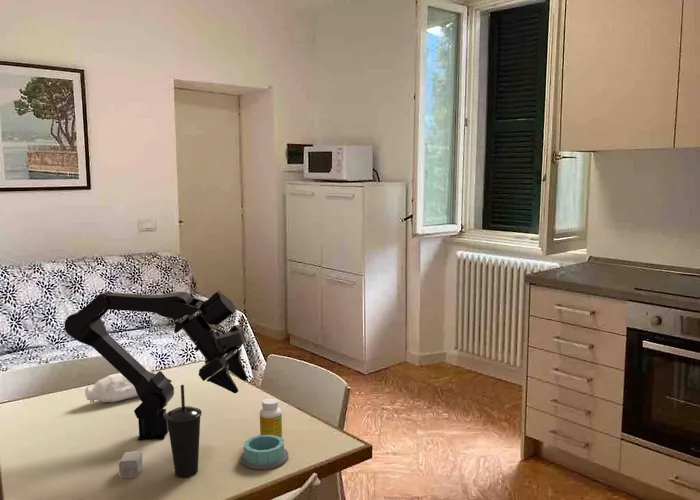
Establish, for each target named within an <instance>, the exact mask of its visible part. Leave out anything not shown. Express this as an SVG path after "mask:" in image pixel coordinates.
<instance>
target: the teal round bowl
mask: <svg viewBox="0 0 700 500" xmlns="http://www.w3.org/2000/svg"><path fill="white" fill-rule="evenodd" d="M239 458H240V459H239V461H240V465H241V466H243V467H244V468H246V469H249V470H253V471H267V470H273V469H277V468H280V467H281V466H283V465H285V464H286V463H287V462H288V461H289V451H288V450H287V449H286V448H285V440H284V439H283V437H282V438H280V437H279V436H274V435H256V436H252V437H249V438H248V439H247V440H245V441H244V444H243V452H242V453H241V455H240V457H239Z"/></svg>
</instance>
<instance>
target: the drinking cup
mask: <svg viewBox="0 0 700 500" xmlns="http://www.w3.org/2000/svg"><path fill="white" fill-rule="evenodd" d="M180 396H181V397H180V399H181V400H180V403H181V406H178V407H175V408H173V409H171V410H169V411H168V412H166V415H165V418H166V420H167V423H168V429H169V431H168V435H169V443H170V446H171V447H170V448H171V454H172V455H171V456H172V461H173V467H174V469H173V470H174V474H175V477H177V478H180V479H186V478H191V477H194V476H195V475H197V474H198V472H199V455H200V452H199V450H200V435H201V434H200V431H201V429H200V428H201V416H202V413H203V412H202V410H201V409H200V408H199V407H193V406H187V405H186V403H185V402H186V401H185V385H184V384H181V385H180Z"/></svg>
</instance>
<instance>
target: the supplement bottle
mask: <svg viewBox="0 0 700 500" xmlns="http://www.w3.org/2000/svg"><path fill="white" fill-rule="evenodd" d="M261 407H262V408H261V409H260V411H259V432H260V433H259V434H260V435H274V436H279V437H280V438H282V439H283V421H282V420H283V418H282V409H281V408H280V407H279V400H278V399H277V398H274V397H273V398H271V397H270V398H265V399H263V400H262V402H261Z"/></svg>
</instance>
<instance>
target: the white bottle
mask: <svg viewBox="0 0 700 500" xmlns="http://www.w3.org/2000/svg"><path fill="white" fill-rule="evenodd" d="M144 368H145V369H146V370H147V371H149V372H151V373H153V374H155V372H154V370H153V369H152V367H151V366H146V367H144ZM84 391H85V392H84V396H85V399H86V400H87V401H89V402H90V404H92V403H94V402H95V401H97V402H98V401H99V402H100V403H116V402H117V403H118V402H120V401H124V400H125V401H126V400H129V399H132V398H136V397H138V395H137V392H136V390H135V387H134V386H133V384H132V383H130V382H129V381H128V380H127V379H126V378H125V377H124V376H123V375H122V374H121V373H120V372H118V373H114V374H110V375H107V376H105V377H103V378H100V379H99V380H97V381H96V382H95V383H94V385H92V386H87V387H86V388H85V389H84Z"/></svg>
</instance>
